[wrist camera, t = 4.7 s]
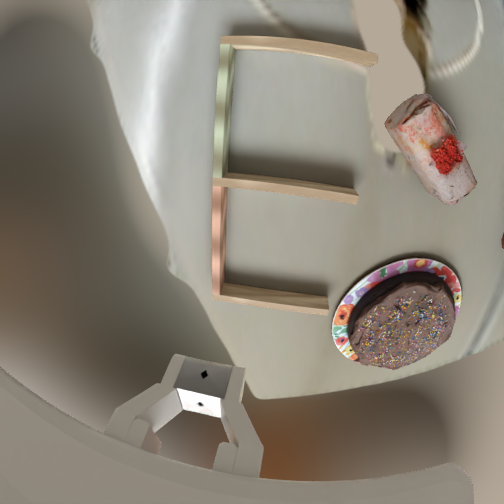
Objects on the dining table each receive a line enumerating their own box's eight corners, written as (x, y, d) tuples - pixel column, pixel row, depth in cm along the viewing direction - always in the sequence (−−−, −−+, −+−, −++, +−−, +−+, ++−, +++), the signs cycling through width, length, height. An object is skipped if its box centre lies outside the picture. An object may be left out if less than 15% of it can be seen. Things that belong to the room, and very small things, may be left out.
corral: (227, 42, 28) (221, 36, 25) (370, 59, 26) (378, 54, 23) (217, 286, 48) (212, 299, 45) (325, 301, 46) (327, 315, 43)
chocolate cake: (302, 306, 48) (302, 332, 42) (438, 224, 36) (456, 242, 30) (365, 376, 56) (368, 398, 50) (467, 320, 44) (478, 341, 39)
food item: (372, 121, 31) (398, 126, 22) (410, 90, 27) (444, 87, 19) (424, 195, 34) (455, 220, 26) (457, 165, 31) (494, 184, 22)
